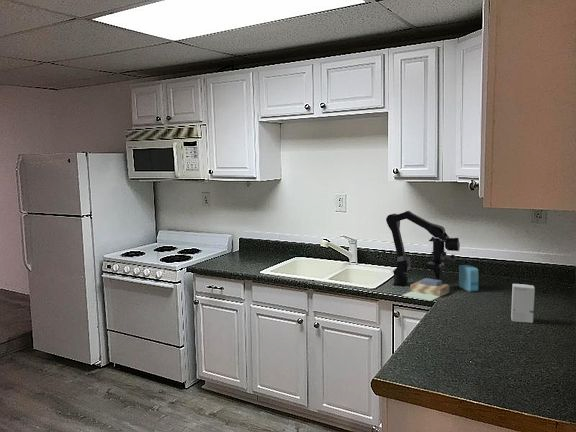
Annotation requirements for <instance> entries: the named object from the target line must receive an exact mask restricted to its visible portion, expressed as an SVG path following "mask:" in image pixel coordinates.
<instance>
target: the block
mask: <svg viewBox="0 0 576 432" xmlns="http://www.w3.org/2000/svg"><path fill="white" fill-rule="evenodd" d="M419 281H420V284H424V285H430V286H439V285H441V284H443V279H442V280H441V279H437V278H436V279H434V278H428V277H425V278H422V279H420V280H419Z"/></svg>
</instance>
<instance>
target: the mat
mask: <svg viewBox="0 0 576 432" xmlns="http://www.w3.org/2000/svg"><path fill="white" fill-rule="evenodd" d="M401 297H405V298H406V297H408V298H413V299H418V300H423V301H430V302H431V301H435V300H436V299H438V298H440V296H434V295H428V294H422V293H416V292H410V291H408V292H406V293H404V294H401Z"/></svg>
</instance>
